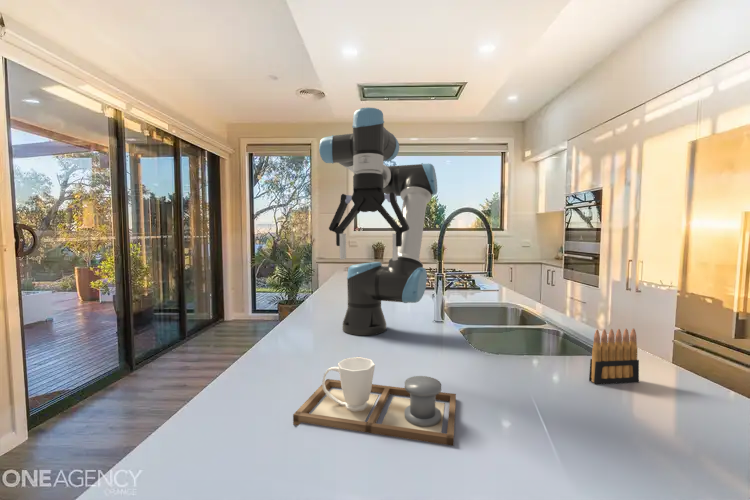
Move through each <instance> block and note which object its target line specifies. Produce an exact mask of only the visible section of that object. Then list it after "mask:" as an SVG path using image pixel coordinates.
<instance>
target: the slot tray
mask: <svg viewBox="0 0 750 500" xmlns="http://www.w3.org/2000/svg"><path fill="white" fill-rule="evenodd" d="M325 387H326V389H327V390H328V392H329V393H330V394H332V395H333V396H334V397H335V398H337V399H338V400H340V401H342V402H346V401H345V399H344V395H343V391H342V387H341V380H340V379H330V378H327V379H325ZM332 388H333V389H332ZM335 388H337V389H335ZM374 393H378V394H374ZM379 394H381V395H380V396H379ZM325 395H326V393H325V392H324V390H323V387H322V384H321V385H320V386H319V387H318V388H317V389H316V390H315V391H314V392H313V393H312V394H311V395H310V396H309V397H308V398H307V399H306V400H305V401H304V402H303V404H302V405H300V407H299V408H298V409H297V410H296V411H295V412H294V413H293V414H292V421H293V422H292V423H293V424H292V425H293V426H299V425H301V423H303V424H304V423H305V424H309V425H317V426H321V427H322V426H323V427H328V428H329V427H330V428H336V429H342V430H348V431H349V430H350V431H354V432H362V433H368V434H375V435H380V436H381V435H382V436H388V437H393V438H401V439H408V440H413V441H414V440H415V441H418V442H419V441H420V442H426V443H431V444H439V445H446V446H452V447H454V437H455V425H456V423H455V422H456V405H457V404H456V402H457V393H451V392H450V393H449V392H442V391H441V392H440V393H439V394H437V395H435V407H436V408H438V409H439V410H440V412H441V421H440V422H439V423H438V424H437V425H435V426H431V427H419V426H415V425H412V424H410V423H409V422H408V421H407V420H406V419H405V409H406V408H407V407H408V406H410V393H409V392H407V391H406V390H405V387H399V386H392V385H382V384H374V383H372V388H371V392H370V396H369V400H368V401H367V403H368V407H367V408H365V409H364V410H362V411H355V412H354V411H351V410H347V409H346V406H342V405H340V404H338V403H336V402H335V401H333V400H332V399H331V398H330V397H328V396H327V395H326V396H325ZM390 395H395V396H393V397H392V399H391V402H390V404H389V406H388V409H387V411H386V412H385V413H386V414H385V415H384V418H383V420H382V421H381V423H377V422H378V419H379V418H380V415H381V413H382V411H383V410H384V407H385V405H386V403H387V400H388V399H389V396H390ZM399 396H401V397H399ZM402 396H403V397H402ZM407 397H408V398H407ZM378 398H379V399H378ZM377 399H378V400H377ZM376 401H377V402H376ZM439 401H444V402H439ZM319 402H320V403H319ZM446 402H449V406H448V407H449V409H448V416H447V417H448V418H447V429H446V433H445V432H444V433H443V432H442V429H443V423H444V422H443V421H444V412H445V406H446V405H445V403H446ZM375 403H376V404H375ZM374 405H375V406H374ZM373 407H374V408H373ZM313 409H314V410H313ZM312 410H313V411H312ZM311 411H312V412H311ZM371 411H372V412H371ZM370 412H371V414H370ZM369 414H370V416H369ZM368 416H369V418H368ZM367 418H368V420H366V419H367Z"/></svg>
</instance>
